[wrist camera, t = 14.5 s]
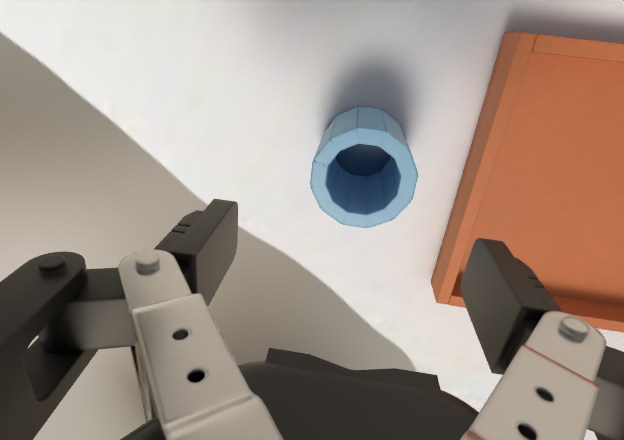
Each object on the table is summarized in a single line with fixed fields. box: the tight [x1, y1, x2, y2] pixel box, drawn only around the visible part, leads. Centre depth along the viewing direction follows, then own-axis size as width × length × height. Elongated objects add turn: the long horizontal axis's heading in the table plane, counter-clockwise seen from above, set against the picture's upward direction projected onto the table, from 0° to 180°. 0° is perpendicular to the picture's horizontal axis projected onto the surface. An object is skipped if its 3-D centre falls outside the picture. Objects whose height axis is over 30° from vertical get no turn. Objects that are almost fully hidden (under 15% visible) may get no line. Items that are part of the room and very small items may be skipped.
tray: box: [431, 32, 624, 332], centre depth 23 cm, size 17×17×2 cm
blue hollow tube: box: [310, 106, 418, 228], centre depth 22 cm, size 5×5×6 cm
